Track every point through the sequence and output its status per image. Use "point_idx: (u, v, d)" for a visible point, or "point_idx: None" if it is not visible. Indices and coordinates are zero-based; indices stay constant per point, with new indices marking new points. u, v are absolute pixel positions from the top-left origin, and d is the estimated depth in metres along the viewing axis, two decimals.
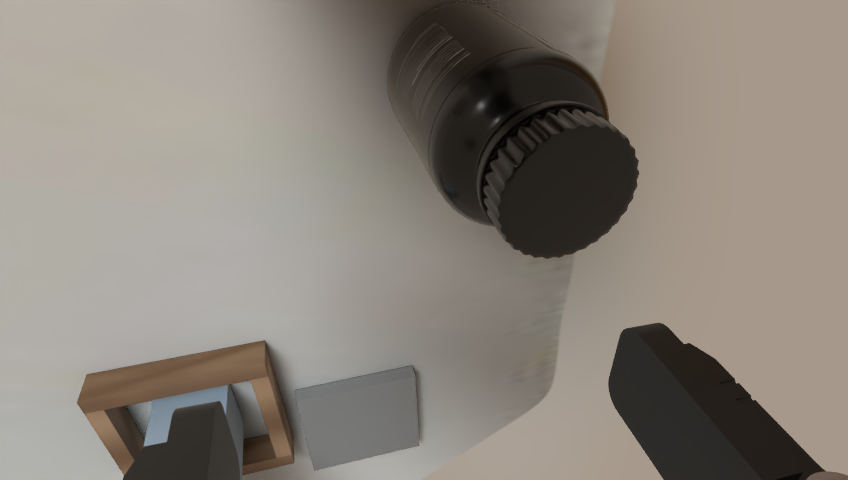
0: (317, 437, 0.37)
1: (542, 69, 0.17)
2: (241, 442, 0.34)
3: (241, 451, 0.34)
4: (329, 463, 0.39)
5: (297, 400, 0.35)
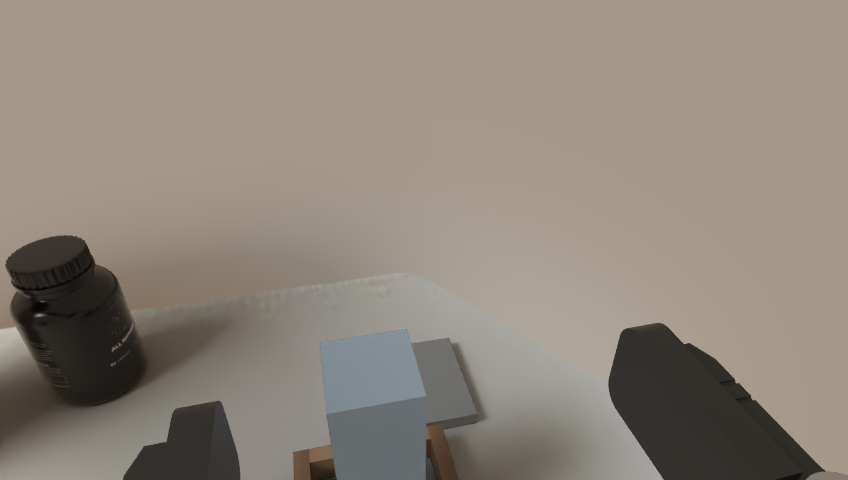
0: None
1: (16, 292, 0.37)
2: None
3: None
4: (466, 402, 0.39)
5: None
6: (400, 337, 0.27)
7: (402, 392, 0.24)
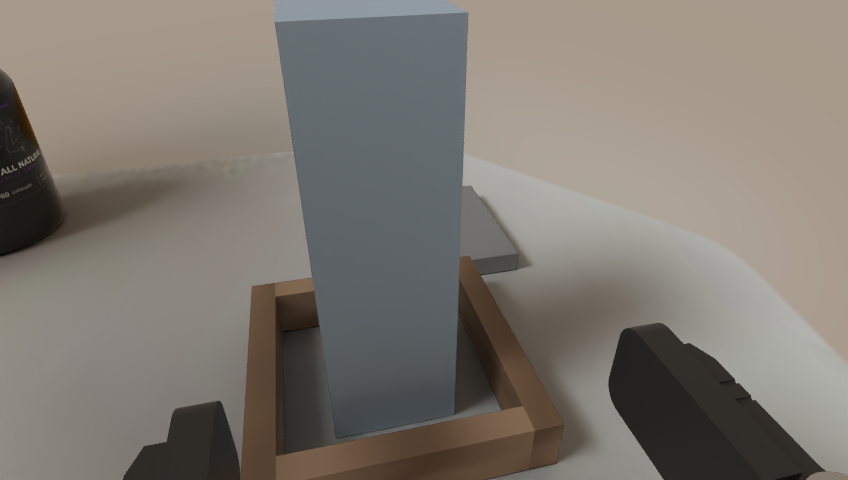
0: None
1: None
2: None
3: None
4: (501, 242, 0.28)
5: None
6: None
7: (423, 11, 0.13)
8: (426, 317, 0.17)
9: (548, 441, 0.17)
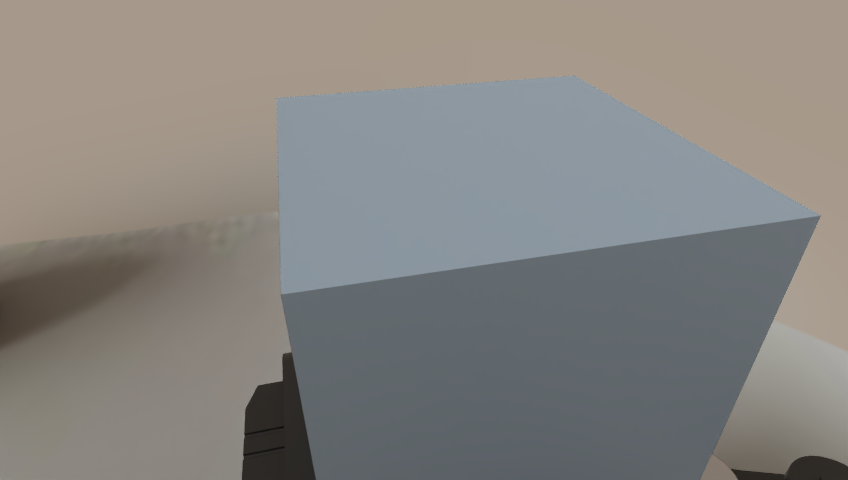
0: None
1: None
2: None
3: None
4: None
5: None
6: (564, 88, 0.07)
7: (686, 207, 0.05)
8: None
9: None
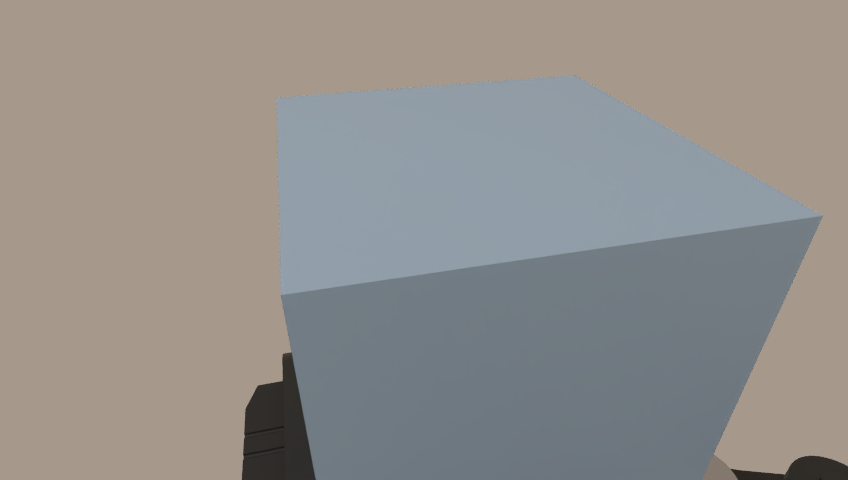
0: None
1: None
2: None
3: None
4: None
5: None
6: (565, 87, 0.07)
7: (687, 206, 0.05)
8: None
9: None
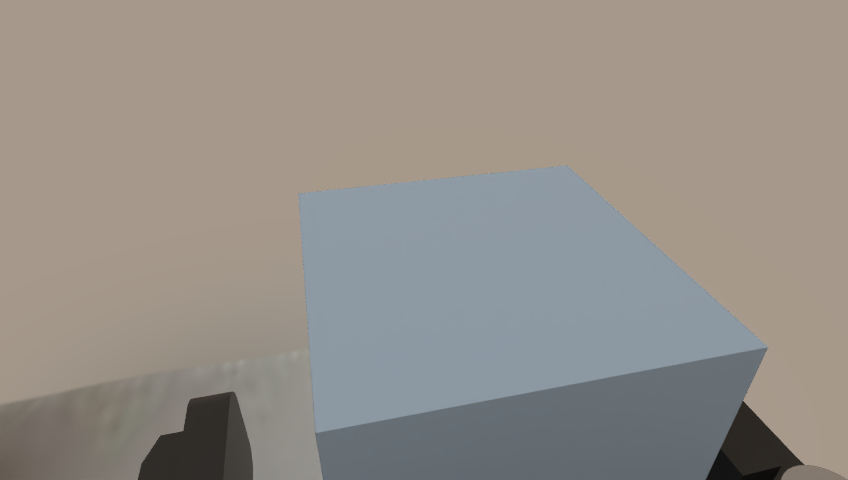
0: None
1: None
2: None
3: None
4: None
5: None
6: (557, 182, 0.08)
7: (654, 334, 0.05)
8: None
9: None
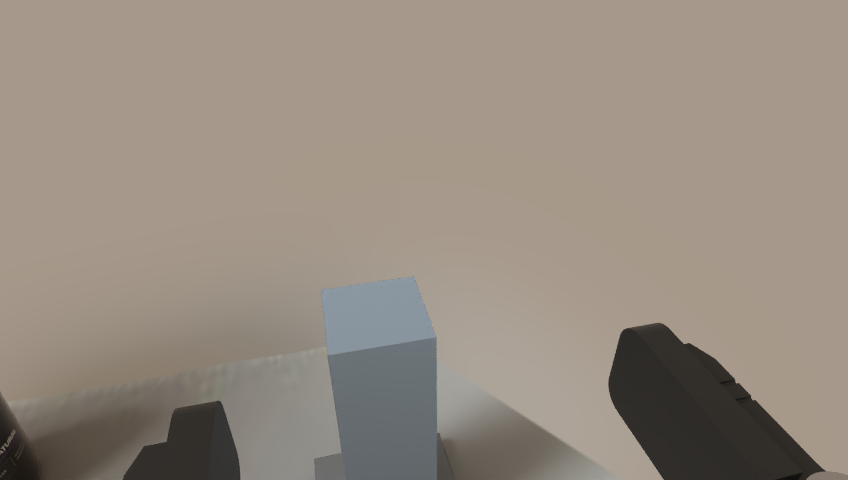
0: None
1: None
2: None
3: None
4: None
5: None
6: (407, 284, 0.25)
7: (410, 334, 0.22)
8: (416, 479, 0.26)
9: None
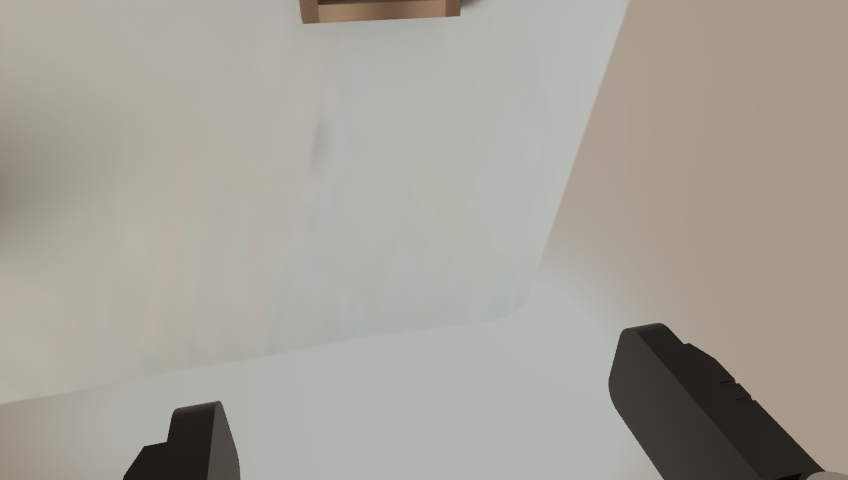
0: None
1: None
2: None
3: None
4: None
5: None
6: None
7: None
8: None
9: None
